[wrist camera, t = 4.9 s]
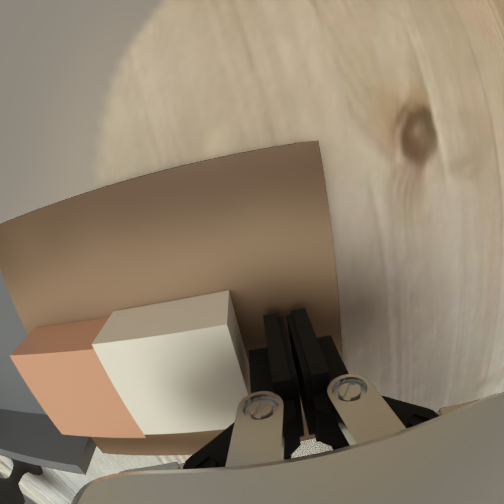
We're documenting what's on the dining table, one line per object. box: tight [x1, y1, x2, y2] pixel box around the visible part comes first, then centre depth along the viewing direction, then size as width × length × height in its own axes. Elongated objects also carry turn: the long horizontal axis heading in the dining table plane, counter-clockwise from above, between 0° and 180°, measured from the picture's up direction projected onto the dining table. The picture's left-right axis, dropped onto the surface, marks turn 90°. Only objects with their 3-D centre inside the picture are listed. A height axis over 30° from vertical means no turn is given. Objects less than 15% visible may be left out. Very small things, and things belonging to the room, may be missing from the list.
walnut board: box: [0, 141, 342, 455], centre depth 15 cm, size 15×15×3 cm
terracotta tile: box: [10, 317, 147, 438], centre depth 12 cm, size 5×5×2 cm
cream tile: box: [92, 290, 251, 435], centre depth 12 cm, size 5×5×2 cm
